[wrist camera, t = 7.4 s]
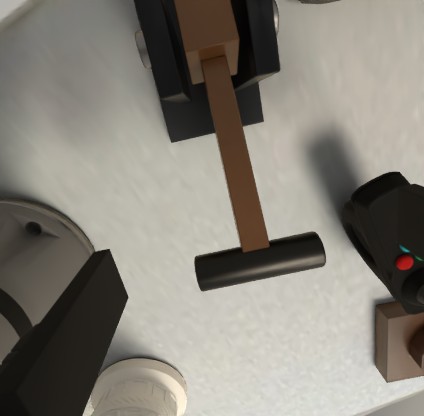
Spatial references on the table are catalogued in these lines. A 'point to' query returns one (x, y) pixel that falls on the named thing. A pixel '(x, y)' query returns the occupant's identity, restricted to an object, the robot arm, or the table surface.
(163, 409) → the decorative container
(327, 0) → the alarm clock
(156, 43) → the switch bracket
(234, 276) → the lever
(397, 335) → the switch block
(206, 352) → the table surface
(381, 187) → the controller
